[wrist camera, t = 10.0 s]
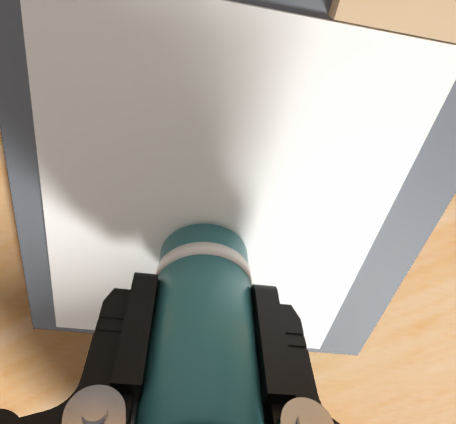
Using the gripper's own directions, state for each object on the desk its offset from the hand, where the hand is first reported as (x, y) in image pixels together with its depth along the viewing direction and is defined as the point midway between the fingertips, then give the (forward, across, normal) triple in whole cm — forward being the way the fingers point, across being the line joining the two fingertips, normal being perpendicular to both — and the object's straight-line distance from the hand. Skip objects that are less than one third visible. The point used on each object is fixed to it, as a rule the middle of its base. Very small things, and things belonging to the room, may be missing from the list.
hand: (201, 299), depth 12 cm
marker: (+2, 0, 0) cm, 2 cm away
